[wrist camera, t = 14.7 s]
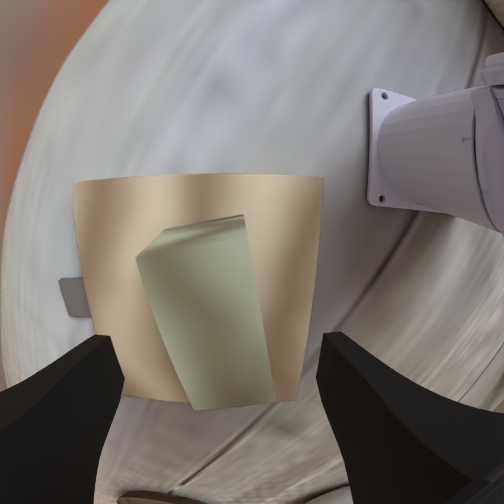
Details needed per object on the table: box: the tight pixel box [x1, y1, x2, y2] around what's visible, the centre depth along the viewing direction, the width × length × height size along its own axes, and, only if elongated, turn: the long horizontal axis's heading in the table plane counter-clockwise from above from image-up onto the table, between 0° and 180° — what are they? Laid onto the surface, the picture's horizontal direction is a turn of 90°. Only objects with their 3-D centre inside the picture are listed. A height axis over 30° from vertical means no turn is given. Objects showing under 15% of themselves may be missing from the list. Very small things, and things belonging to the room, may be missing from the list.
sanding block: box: [135, 214, 276, 411], centre depth 14 cm, size 4×9×5 cm, turn 9°
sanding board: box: [72, 174, 324, 403], centre depth 17 cm, size 15×17×2 cm
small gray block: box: [58, 277, 92, 317], centre depth 17 cm, size 3×3×1 cm
